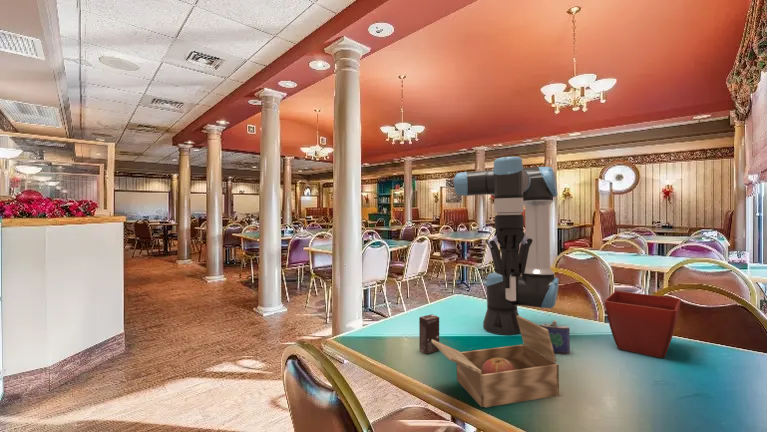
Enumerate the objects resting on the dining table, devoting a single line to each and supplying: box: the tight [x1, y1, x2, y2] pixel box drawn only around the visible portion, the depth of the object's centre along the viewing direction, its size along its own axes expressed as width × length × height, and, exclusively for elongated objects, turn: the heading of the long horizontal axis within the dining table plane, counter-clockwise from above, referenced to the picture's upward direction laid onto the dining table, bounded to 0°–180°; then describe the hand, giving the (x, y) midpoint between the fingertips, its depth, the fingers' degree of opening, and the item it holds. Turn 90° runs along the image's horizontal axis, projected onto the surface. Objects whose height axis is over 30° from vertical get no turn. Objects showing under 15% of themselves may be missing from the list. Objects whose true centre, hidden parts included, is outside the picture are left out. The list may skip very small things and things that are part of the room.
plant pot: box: [604, 290, 682, 359], centre depth 122 cm, size 19×19×17 cm
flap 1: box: [431, 339, 481, 373], centre depth 95 cm, size 1×13×9 cm
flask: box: [539, 320, 571, 355], centre depth 121 cm, size 9×3×11 cm, turn 68°
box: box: [418, 314, 440, 355], centre depth 125 cm, size 6×4×12 cm
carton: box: [455, 343, 560, 408], centre depth 99 cm, size 22×15×8 cm
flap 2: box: [516, 314, 557, 363], centre depth 101 cm, size 1×13×9 cm, turn 13°
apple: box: [482, 358, 515, 374], centre depth 98 cm, size 9×9×8 cm
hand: (510, 299), depth 99 cm, fingers closed
